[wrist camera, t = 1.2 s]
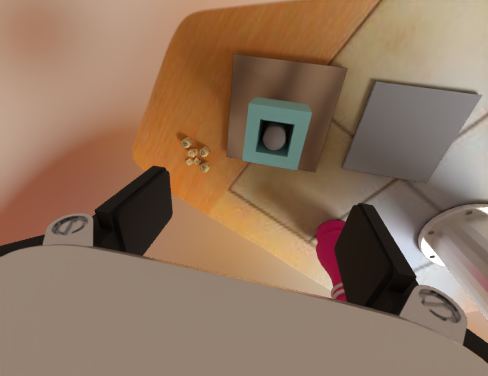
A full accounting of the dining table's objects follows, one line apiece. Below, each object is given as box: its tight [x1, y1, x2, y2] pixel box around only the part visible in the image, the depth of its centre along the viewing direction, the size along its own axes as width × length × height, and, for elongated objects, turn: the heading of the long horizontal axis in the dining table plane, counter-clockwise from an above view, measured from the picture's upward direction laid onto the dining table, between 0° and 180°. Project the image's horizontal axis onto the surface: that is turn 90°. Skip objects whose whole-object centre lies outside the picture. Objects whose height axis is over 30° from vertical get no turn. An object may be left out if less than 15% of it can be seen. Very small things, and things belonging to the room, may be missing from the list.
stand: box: [226, 54, 348, 172], centre depth 26 cm, size 14×14×11 cm
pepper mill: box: [316, 220, 347, 302], centre depth 31 cm, size 7×7×20 cm
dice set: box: [181, 137, 211, 172], centre depth 36 cm, size 5×5×2 cm
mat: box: [342, 81, 482, 183], centre depth 29 cm, size 12×12×1 cm
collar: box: [242, 97, 312, 170], centre depth 24 cm, size 6×6×5 cm
